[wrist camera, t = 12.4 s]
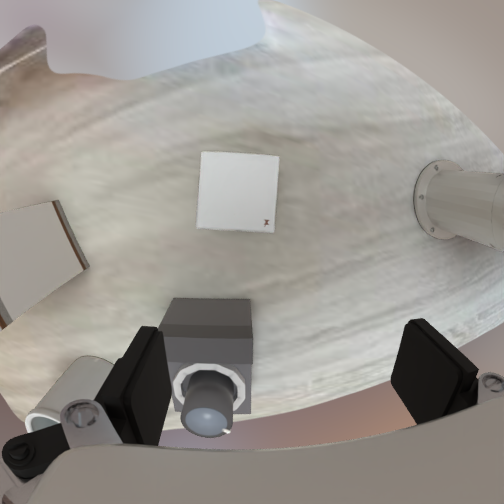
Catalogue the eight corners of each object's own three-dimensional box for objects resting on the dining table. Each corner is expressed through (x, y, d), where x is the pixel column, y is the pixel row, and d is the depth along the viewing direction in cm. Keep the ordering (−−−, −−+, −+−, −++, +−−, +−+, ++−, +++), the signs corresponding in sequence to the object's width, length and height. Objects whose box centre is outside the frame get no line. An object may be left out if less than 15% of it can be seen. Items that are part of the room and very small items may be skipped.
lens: (202, 361, 36) (195, 396, 29) (243, 382, 36) (243, 418, 30) (181, 389, 37) (171, 424, 30) (220, 408, 37) (217, 444, 31)
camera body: (249, 298, 42) (252, 338, 32) (249, 380, 46) (251, 428, 35) (173, 298, 42) (154, 336, 31) (183, 379, 46) (171, 425, 35)
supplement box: (270, 161, 38) (283, 155, 25) (265, 217, 39) (275, 236, 27) (213, 157, 37) (200, 148, 25) (209, 213, 39) (194, 230, 27)
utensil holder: (59, 380, 46) (19, 436, 29) (81, 336, 43) (30, 398, 26) (119, 422, 48) (93, 486, 32) (150, 386, 46) (123, 461, 29)
